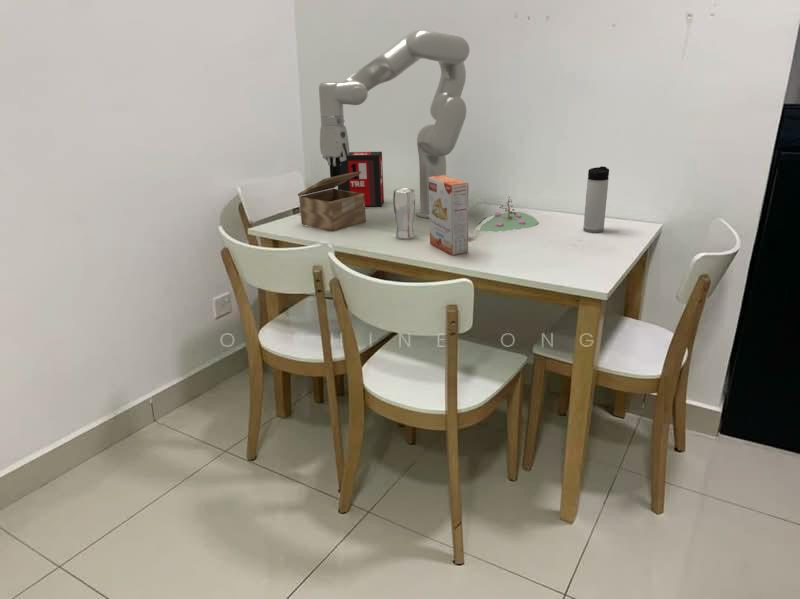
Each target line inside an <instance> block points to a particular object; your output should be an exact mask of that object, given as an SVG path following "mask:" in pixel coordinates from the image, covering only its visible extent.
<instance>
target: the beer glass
mask: <svg viewBox="0 0 800 599" xmlns="http://www.w3.org/2000/svg"><path fill="white" fill-rule="evenodd" d="M415 196H416V194H415V189H412V188H405V187H404V188H397V189H394V190H393V198H392V200H393V202H392V203H393V204H392V205H393V213H394V218H395V222H396V232H395V238H396V239H399V240H410V239H413V238H415V237H416V236H415V231H414V230H415V229H414V220H415V214H416V197H415Z"/></svg>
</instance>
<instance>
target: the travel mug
mask: <svg viewBox="0 0 800 599" xmlns="http://www.w3.org/2000/svg"><path fill="white" fill-rule="evenodd" d="M609 176H610V169H609V168H608V167H607V166H602V165H601V166H598V167H591V168H589V169H588V172H587V183H586V192H585V193H586V195H585V205H584V217H583V231H584V232H586V233H590V234H591V233H592V234H599V233H600V234H601V233H603V232H604V229H605V218H606V211H607V210H606V209H607V198H608V191H609V190H608V188H609Z"/></svg>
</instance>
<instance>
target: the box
mask: <svg viewBox="0 0 800 599" xmlns="http://www.w3.org/2000/svg"><path fill="white" fill-rule="evenodd" d="M298 197H299V199H298V200H299V210H300V221H301V225H302V224H303V225H302V226H305V225H307V226H306V227H310V226H311V227H310V228H314V227H315V228H314V229H318V228H319V230H322V231H327V232H331V233H333V232H337V231H339V230H343V229H346V228H349V227H353V226H356V225H357V226H358V225H359V224H363V223H366V221H367V220H366V219H367V218H366V208H365V198H364V194H362V193H356V192H350V191H344V190H338V188H332V189H327V190H323V191H319V192H315V193H310V194H306V195H302V196H298Z"/></svg>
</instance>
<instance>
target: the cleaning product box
mask: <svg viewBox="0 0 800 599" xmlns="http://www.w3.org/2000/svg"><path fill="white" fill-rule="evenodd" d="M346 159H347V160H346V161H342V163H341V165H340V175H343V174H348V173H353V172H357V171H361V173H360V174H358V175H357V176H355V177H353V178H351V179H349V180H347V181H346V182H344V183H342V184H340V185H338V186H337V189H338V190H344V191H350V192H356V193H362V194H364V198H365V207H381V208H382V207H383V205H384V203H385V196H384V195H385V192H384V190H385V189H384V171H383V168H384V167H383V152H382V151H349V155H348V156H346Z"/></svg>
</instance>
